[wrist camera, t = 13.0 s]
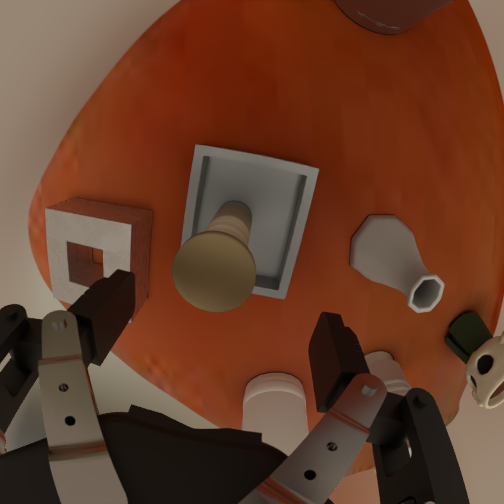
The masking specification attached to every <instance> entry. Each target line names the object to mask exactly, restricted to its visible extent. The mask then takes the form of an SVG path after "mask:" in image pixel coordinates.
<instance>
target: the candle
mask: <svg viewBox="0 0 504 504" xmlns="http://www.w3.org/2000/svg"><path fill="white" fill-rule="evenodd" d="M364 357H365V360H366V362H367V365H368V368H369V370H370V373H371V374H372V375H374V376H376V377H378V378H379V379H381V380H382V381H383V382H384V384H385V385H386V388H387V391H388V392H391V393H395V394H399V395H402V396H405V395H406V393H407V392H408V391H409V390H410V389H411V386H410V384H409V382H408V381H407V380H405V377H404V375H403V372H402V369H401V367H400V365H399V363H398V362H396V361H394V360H393V358H392V356H391V355H390V354H389V353H387V352H384V351H377V352H373V353H370V354H368V355H366V356H364ZM406 442H407V445H408V449H409V453H410V457H411V448H410V444H409V440H407V441H406ZM371 446H372V444H371ZM372 450H373V449H372ZM375 472H376V467H375Z"/></svg>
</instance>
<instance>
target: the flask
mask: <svg viewBox="0 0 504 504" xmlns="http://www.w3.org/2000/svg"><path fill="white" fill-rule="evenodd" d="M350 266H351V267H352V268H354V269H355V270H356V271H358V272H359V273H360V274H362V275H363V276H364V277H366V278H367V279H368V280H371V281H374V282H378V283H381V284H385V285H387V286H390V287H393V288H395V289H398V290H400V291H401V292H403V294H404V295H405V296H406V297H407V305H408V306H409V307H411V308H412V309H413V310H414V311H416V312H417V313H421V312H428V311H431V310H432V309H433V308H434V307H435V305H436V304H437V303H438V302H439V301H440V299H441V297H442V293H443V289H444V285H445V284H444V282H443V281H442V280H441V279H440V278H439V277H438V276H437V275H436V274H434V273H432V274H429V272H428V271H427V269H426V268H425V266H424V265H423V263H422V260H421V257H420V254H419V251H418V248H417V245H416V242H415V238H414V235H413V233H412V231H411V230H410V229H409V228H408V227H407V226H406V225H405V224H404V223H403V222H402V221H401V220H399V219H398V218H397V217H396V216H395V215H369V216H368V217H367V219H366V220H365V221H364V223H363V224H362V225H361V227H360V228H359V229H358V231H357V232H356V233H355V234H354V236H353V237H352V238H351V253H350Z"/></svg>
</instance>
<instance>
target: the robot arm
mask: <svg viewBox="0 0 504 504" xmlns="http://www.w3.org/2000/svg"><path fill="white" fill-rule="evenodd" d="M452 1H454V0H335V2H336V3H337V5H338V6H339V8H340V9H341V10H342V11H343V12H344V13H345V14H346V15H347V16H348V17H349V18H351V19H352V20H353V21H354V22H356V23H358V24H359V25H361V26H362V27H365V28H367V29H369V30H371V31H374V32H378V33H381V34H388V35H391V34H399V33H403V32H405V31H406V30H408V29H409V28H411V27H412V26H414V25H415V24H417V23H418V22H420V21H421V20H423V19H425V18H426V17H428V16H430V15H431V14H433V13H434V12H436V11H437V10H439V9H441V8H442V7H444V6H446V5H447V4H449V3H451V2H452ZM134 310H135V274H134V273H133V272H129V271H125V270H121V269H117V270H116V271H114V272H113V273H112V274H111V275H110V276H109V277H108V278H107V277H104V278H102V279H100V280H97V281H95V282H94V283H93V284H92V285H91V286H90V287H89V289H87V290H86V291H85V292H84V294H82V295H81V296H80V297H79V298H78V299H77V300H76V301H75V302H74V303H73V304H72V305H71V306H70V307H69V308H68V309H67V311H64V310H57V311H53V312H51V313H49V314H47V315H46V316H45V317H44V318H43V320H42V319H34V318H28V317H27V313H26V310H25V308H24V307H23V306H21V305H18V304H11V305H7V306H5V307H3V308H1V310H0V363H1V362H2V360H3V359H4V358H5V357H6V355H7V354H8V353H10V355H11V359H10V360H9V362H8V363H7V364H6V366H5V367H4V368H3V370H2V371H1V372H0V504H334V503H333V502H332V501H331V500H330V499H329V496H330V495H331V494H332V492H333V491H334V489H335V488H336V487H337V485H338V484H339V482H340V481H341V479H342V478H343V476H344V475H345V473H346V472H347V470H348V469H349V467H350V466H351V464H352V463H353V461H354V460H355V458H356V456H357V455H358V453H359V451H360V450H361V448H362V446H363V445H364V443H365V441H366V442H370V443H371V444H372V449H373V455H374V461H375V467H376V474H377V480H378V487H379V496H380V504H470V503H469V499H468V495H467V491H466V488H465V484H464V481H463V477H462V474H461V471H460V467H459V464H458V461H457V458H456V455H455V452H454V449H453V446H452V443H451V441H450V438H449V436H448V432H447V430H446V427H445V424H444V422H443V419H442V417H441V414H440V412H439V409H438V407H437V404H436V402H435V400H434V398H433V396H432V395H431V394H430V393H429V392H427V391H425V390H423V389H421V388H412V389H410V390H409V391H408V392H407V393H406V395H405V396H402V395H399V394H395V393H391V392H388V391H387V388H386V385H385V384H384V382H383V381H382V380H381V379H379V378H378V377H376V376H374V375H372V374H371V373H370V370H369V368H368V365H367V362H366V360H365V357H364V354H363V352H362V349H361V346H360V345H359V341H358V339H357V336H356V334H355V333H354V332H353V331H352V330H351V329H350V328H349V327H345V326H344V323H343V321H342V318H341V315H340V314H335V313H329V312H322V313H321V315H320V317H319V319H318V322H317V325H316V327H315V330H314V332H313V335H312V337H311V340H310V343H309V350H308V353H309V360H310V366H311V372H312V379H313V386H314V392H315V399H316V406H317V412H323V413H326V414H325V415H324V416H323V418H322V419H321V420H320V421H319V422H318V424H317V425H316V426H315V427H314V428H313V430H312V431H311V432H310V433H309V434H308V435H307V437H306V438H305V439H304V440H303V441H302V442H301V443H300V445H299V446H298V447H297V448H296V449H295V450H294V451H293V452H292V453H291V454H290V455H289V456H287V455H286V454H285V453H284V452H282V451H281V450H279V449H277V448H275V447H274V446H271V445H269V444H267V443H264V442H262V433H259V432H251V431H244V430H237V429H231V428H223V429H194V428H191V427H189V426H186V425H184V424H182V423H180V422H178V421H176V420H174V419H172V418H170V417H168V416H166V415H164V414H162V413H158V412H155V411H151V410H148V409H145V408H142V407H138V406H135V405H131V406H130V409H129V412H111V413H106V414H101V415H100V413H99V410H98V407H97V403H96V400H95V396H94V392H93V389H92V385H91V381H90V377H89V373H88V369H87V368H88V366H89V364H90V363H93V364H96V365H98V366H101V364H102V363H103V361H104V359H105V358H106V356H107V355H108V353H109V351H110V350H111V348H112V347H113V345H114V344H115V342H116V340H117V339H118V337H119V336H120V334H121V333H122V331H123V330H124V328H125V327H126V325H127V324H128V322H129V321H130V319H131V318H132V316H133V314H134ZM38 376H39V384H40V394H41V403H42V411H43V418H44V424H45V430H46V435H47V437H46V438H44V439H41V440H39V441H37V442H34V443H31V444H29V445H26V446H23V447H21V448H18V449H15V450H12V451H9V452H7V451H6V448H5V446H6V439H5V435H4V434H5V432H6V430H7V428H8V426H9V425H10V423H11V421H12V419H13V417H14V416H15V414H16V412H17V410H18V409H19V407H20V405H21V404H22V402H23V400H24V399H25V397H26V395H27V394H28V392H29V390H30V389H31V387H32V386H33V384H34V383H35V381H36V379H37V378H38ZM407 440H409V444H410V448H411V457H410V453H409V449H408V445H407V442H406V441H407Z"/></svg>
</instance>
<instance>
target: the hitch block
mask: <svg viewBox="0 0 504 504" xmlns="http://www.w3.org/2000/svg"><path fill="white" fill-rule="evenodd" d="M45 213H46V236H47V249H48V260H49V269H50V276H51V284H52V290H53V296H54V298H56V299H59V300H61V301H64V302H67V303H70V304H73V303H74V302H75V301H76V300H77V299H78V298H79V297H80V296H81V295H82V294H84V292H85V291H86V290H87V289H89V287H90V286H91V285H92V284H93V283H94V282H95V281H97V280H100V279H102V278H104V277H107V278H108V277H109V276H110V275H111V274H112V273H113V272H114V271H116V270H117V269H121V270H125V271H129V272H133V273H134V274H135V310H134V314H133V316H132V318H131V319H130V321H129V323H131V322H132V321H133V319H134V318H135V316H136V315H137V313H138V312H139V310H140V309H141V307H142V306H143V304H144V303H145V301H146V300H147V299H148V276H149V254H150V238H151V225H152V214H153V211H152V210H146V209H140V208H135V207H129V206H123V205H117V204H111V203H105V202H99V201H93V200H87V199H81V198H75V197H73V198H70V199H68V200H65V201H62V202H60V203H57V204H55V205H52V206H50V207H47V208H45ZM92 247H94V248H98V249H102V250H103V265H102V264H98V263H94V262H93V248H92Z"/></svg>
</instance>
